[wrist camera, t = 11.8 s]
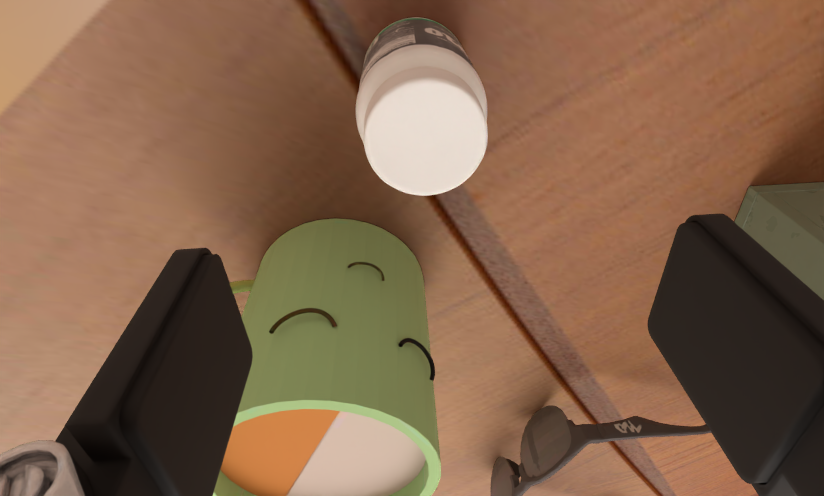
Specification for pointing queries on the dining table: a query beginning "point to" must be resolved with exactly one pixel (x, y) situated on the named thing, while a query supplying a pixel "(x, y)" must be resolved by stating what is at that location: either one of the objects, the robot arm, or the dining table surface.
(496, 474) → the sunglasses
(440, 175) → the pill bottle
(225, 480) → the mug
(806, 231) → the green storage bin
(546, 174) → the dining table surface
